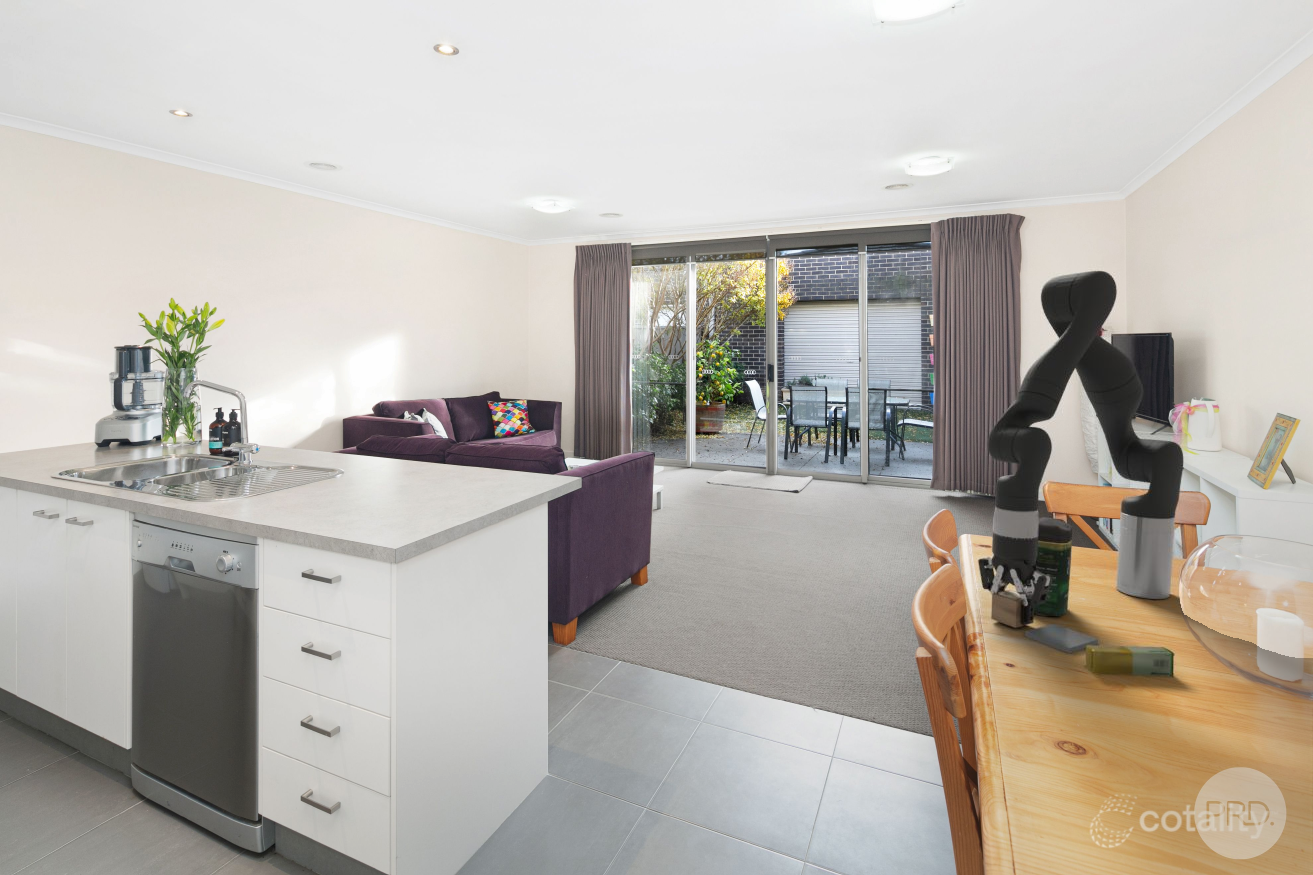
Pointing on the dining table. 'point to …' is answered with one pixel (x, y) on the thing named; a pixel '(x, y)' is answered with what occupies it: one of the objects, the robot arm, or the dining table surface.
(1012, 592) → the cube
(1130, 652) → the medication box
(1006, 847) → the dining table surface
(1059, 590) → the coffee jar
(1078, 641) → the pad
